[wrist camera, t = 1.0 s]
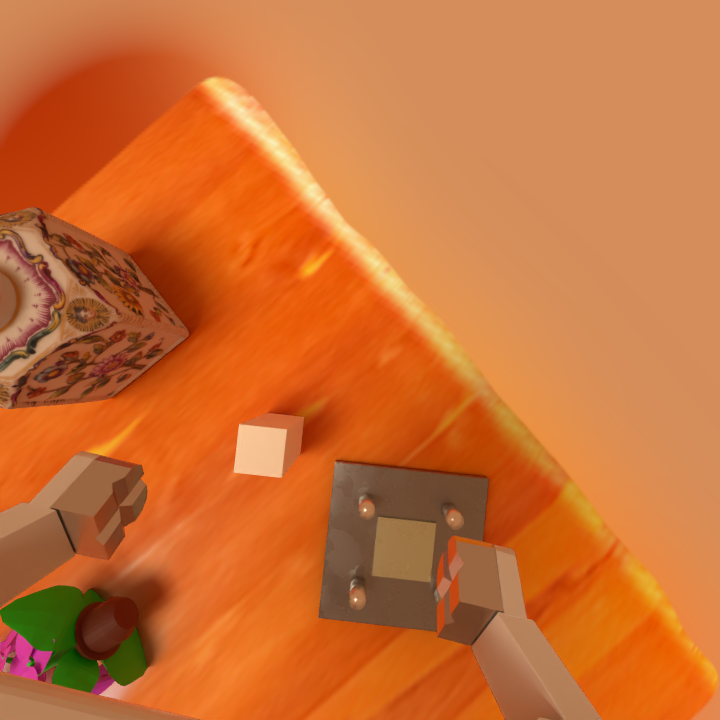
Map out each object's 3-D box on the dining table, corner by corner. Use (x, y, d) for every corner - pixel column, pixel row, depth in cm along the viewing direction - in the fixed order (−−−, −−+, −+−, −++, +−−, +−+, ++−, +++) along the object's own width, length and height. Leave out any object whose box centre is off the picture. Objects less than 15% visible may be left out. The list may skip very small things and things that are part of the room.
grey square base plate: (471, 629, 44) (481, 655, 40) (319, 612, 44) (315, 636, 40) (486, 476, 44) (498, 486, 40) (335, 460, 45) (332, 468, 41)
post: (300, 454, 45) (281, 477, 35) (263, 450, 45) (233, 472, 35) (304, 416, 45) (286, 429, 35) (267, 412, 45) (239, 424, 35)
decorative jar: (109, 402, 45) (-60, 422, 27) (44, 318, 45) (-165, 282, 28) (196, 333, 45) (85, 307, 27) (131, 250, 46) (-22, 170, 28)
